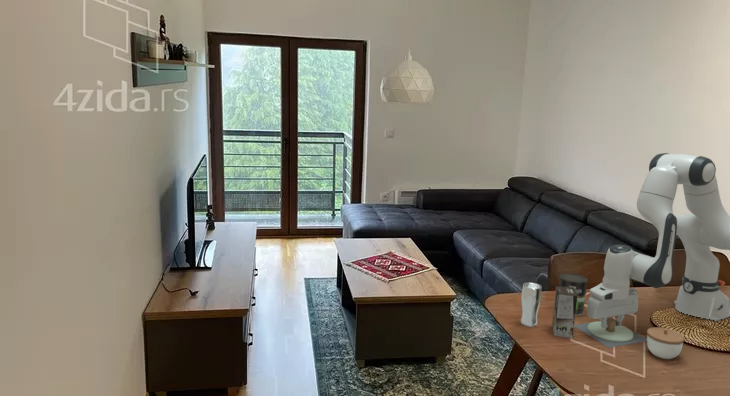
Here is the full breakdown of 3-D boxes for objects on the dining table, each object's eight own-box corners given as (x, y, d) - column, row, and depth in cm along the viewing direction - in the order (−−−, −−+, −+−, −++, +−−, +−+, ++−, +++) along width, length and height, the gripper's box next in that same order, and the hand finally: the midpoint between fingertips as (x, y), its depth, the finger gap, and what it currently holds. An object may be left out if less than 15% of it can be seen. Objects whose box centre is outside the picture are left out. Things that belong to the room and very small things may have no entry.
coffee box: (573, 339, 186) (577, 296, 183) (554, 337, 188) (558, 294, 185) (569, 328, 195) (574, 287, 192) (551, 326, 197) (555, 285, 193)
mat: (610, 320, 202) (610, 319, 202) (649, 341, 186) (649, 340, 186) (572, 326, 197) (572, 325, 196) (608, 348, 180) (608, 347, 180)
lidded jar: (666, 347, 182) (669, 321, 180) (688, 363, 172) (692, 336, 170) (637, 348, 181) (640, 323, 179) (658, 364, 170) (662, 337, 168)
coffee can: (583, 318, 204) (587, 283, 201) (555, 313, 208) (559, 279, 205) (583, 308, 213) (587, 275, 211) (556, 304, 217) (560, 271, 214)
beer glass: (516, 319, 202) (519, 282, 199) (534, 319, 202) (537, 282, 199) (523, 327, 195) (526, 289, 192) (541, 327, 195) (545, 289, 192)
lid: (610, 321, 200) (611, 309, 199) (642, 339, 187) (644, 325, 186) (578, 326, 196) (579, 314, 194) (609, 344, 182) (610, 331, 181)
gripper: (630, 284, 194) (626, 319, 197) (585, 290, 187) (581, 326, 190) (645, 290, 188) (640, 326, 191) (598, 296, 182) (594, 333, 184)
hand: (610, 326), depth 191 cm, fingers open, 4 cm apart
